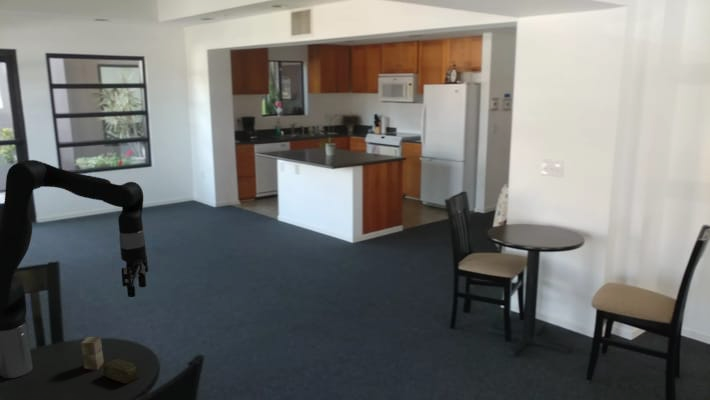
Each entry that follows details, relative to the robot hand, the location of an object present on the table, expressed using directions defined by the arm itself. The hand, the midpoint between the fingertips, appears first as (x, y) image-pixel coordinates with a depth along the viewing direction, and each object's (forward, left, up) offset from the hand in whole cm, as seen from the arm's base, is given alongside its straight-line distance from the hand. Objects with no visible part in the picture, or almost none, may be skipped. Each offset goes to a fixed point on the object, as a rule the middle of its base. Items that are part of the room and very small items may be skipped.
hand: (137, 291), depth 182 cm
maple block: (-20, +4, -29) cm, 36 cm away
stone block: (-7, -3, -30) cm, 31 cm away
